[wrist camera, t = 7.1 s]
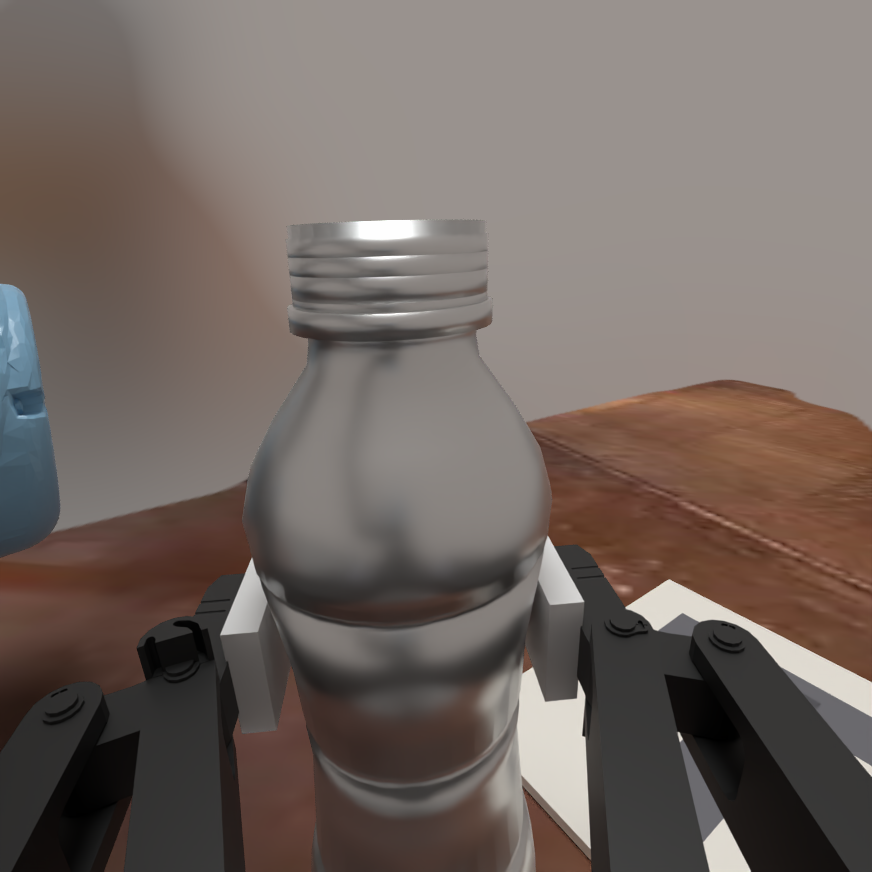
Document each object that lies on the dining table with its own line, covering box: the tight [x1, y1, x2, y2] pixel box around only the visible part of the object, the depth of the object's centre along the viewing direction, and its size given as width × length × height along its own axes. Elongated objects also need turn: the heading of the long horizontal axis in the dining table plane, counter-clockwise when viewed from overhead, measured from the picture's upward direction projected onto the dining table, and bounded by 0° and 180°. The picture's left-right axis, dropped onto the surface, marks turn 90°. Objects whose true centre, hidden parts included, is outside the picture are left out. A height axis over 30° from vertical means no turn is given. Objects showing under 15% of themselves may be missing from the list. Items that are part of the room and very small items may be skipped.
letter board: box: [517, 580, 872, 872], centre depth 25 cm, size 18×18×1 cm
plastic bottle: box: [242, 220, 552, 872], centre depth 13 cm, size 6×7×20 cm
